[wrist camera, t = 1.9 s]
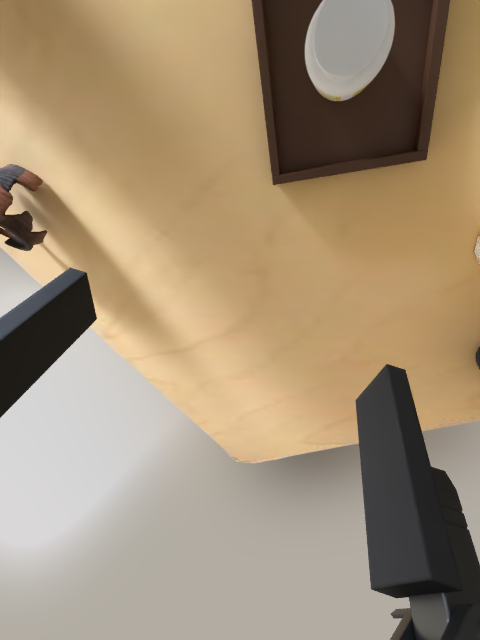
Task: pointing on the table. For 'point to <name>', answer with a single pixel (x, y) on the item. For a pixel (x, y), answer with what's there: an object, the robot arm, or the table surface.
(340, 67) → the supplement bottle
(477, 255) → the white cup
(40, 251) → the table surface
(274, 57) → the tray
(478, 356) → the pen holder
